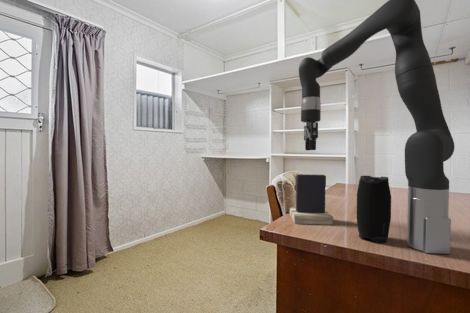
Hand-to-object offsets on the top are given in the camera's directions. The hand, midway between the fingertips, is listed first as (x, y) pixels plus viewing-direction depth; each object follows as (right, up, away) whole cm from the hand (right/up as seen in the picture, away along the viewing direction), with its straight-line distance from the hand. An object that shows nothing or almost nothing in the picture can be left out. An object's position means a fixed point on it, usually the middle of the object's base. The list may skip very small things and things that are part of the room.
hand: (310, 150), depth 99 cm
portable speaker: (+13, -29, -22) cm, 38 cm away
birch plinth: (0, -28, +1) cm, 28 cm away
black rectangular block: (0, -25, 0) cm, 25 cm away
